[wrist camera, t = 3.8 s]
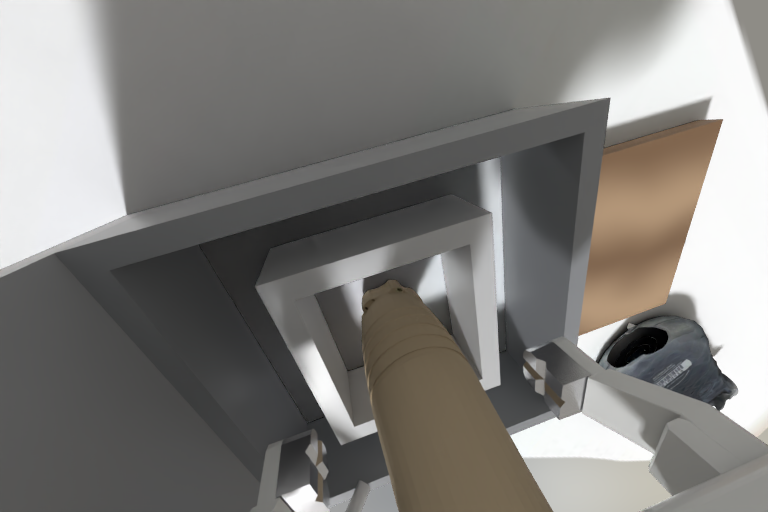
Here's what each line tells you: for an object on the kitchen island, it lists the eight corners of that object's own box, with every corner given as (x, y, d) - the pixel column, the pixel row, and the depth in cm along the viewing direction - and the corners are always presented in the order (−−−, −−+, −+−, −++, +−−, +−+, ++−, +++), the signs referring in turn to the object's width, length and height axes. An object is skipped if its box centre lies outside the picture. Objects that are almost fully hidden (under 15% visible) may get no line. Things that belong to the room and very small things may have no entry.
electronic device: (692, 344, 28) (669, 292, 20) (765, 397, 24) (772, 358, 15) (610, 393, 31) (561, 365, 23) (661, 448, 26) (622, 437, 18)
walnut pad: (533, 169, 14) (548, 172, 13) (698, 120, 15) (723, 119, 14) (529, 340, 19) (539, 350, 18) (650, 295, 20) (665, 303, 19)
